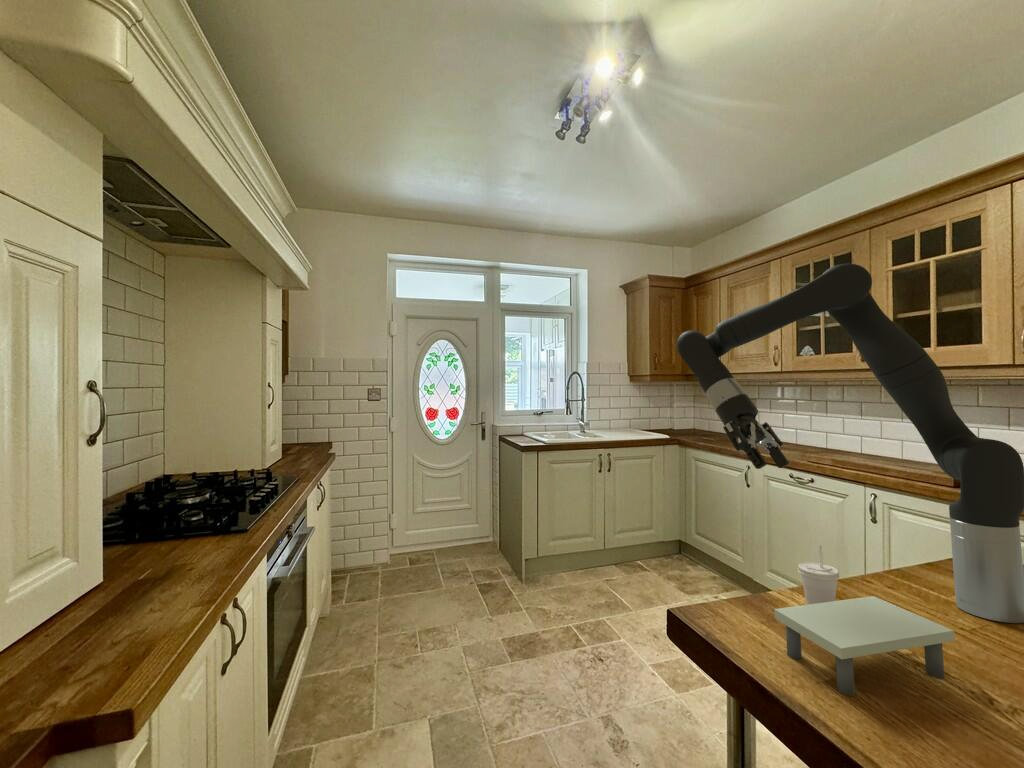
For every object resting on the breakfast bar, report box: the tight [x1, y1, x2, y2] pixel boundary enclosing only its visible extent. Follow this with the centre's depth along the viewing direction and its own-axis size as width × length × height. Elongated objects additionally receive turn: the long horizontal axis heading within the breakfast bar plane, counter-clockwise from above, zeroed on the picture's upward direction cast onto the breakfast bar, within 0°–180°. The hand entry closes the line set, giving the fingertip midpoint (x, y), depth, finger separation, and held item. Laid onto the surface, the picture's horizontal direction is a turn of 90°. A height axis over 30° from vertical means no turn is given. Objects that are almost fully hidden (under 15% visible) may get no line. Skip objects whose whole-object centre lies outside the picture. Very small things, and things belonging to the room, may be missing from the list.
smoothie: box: [797, 544, 840, 605], centre depth 83 cm, size 6×6×14 cm
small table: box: [774, 595, 956, 697], centre depth 69 cm, size 20×12×7 cm, turn 101°
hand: (773, 466), depth 90 cm, fingers open, 8 cm apart
